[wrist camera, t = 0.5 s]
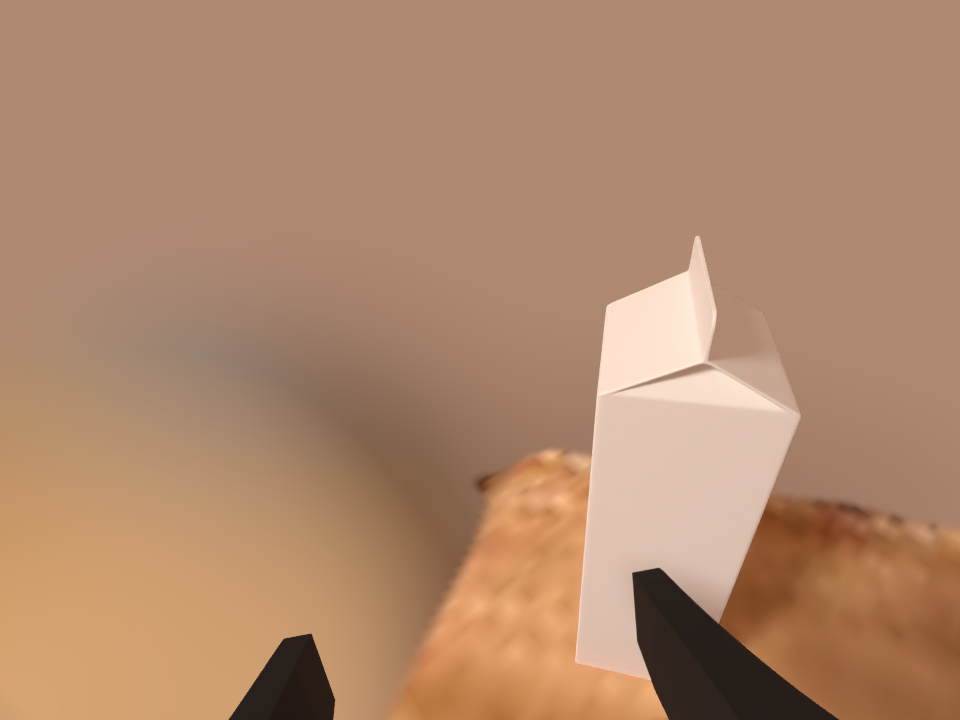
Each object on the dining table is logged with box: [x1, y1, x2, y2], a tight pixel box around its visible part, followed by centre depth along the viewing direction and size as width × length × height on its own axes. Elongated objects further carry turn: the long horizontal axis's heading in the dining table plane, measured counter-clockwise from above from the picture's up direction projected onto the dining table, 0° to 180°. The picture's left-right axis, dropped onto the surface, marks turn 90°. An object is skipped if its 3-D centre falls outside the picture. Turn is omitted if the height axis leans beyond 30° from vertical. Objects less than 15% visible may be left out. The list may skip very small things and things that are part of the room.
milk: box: [575, 236, 801, 680], centre depth 22 cm, size 6×6×22 cm
